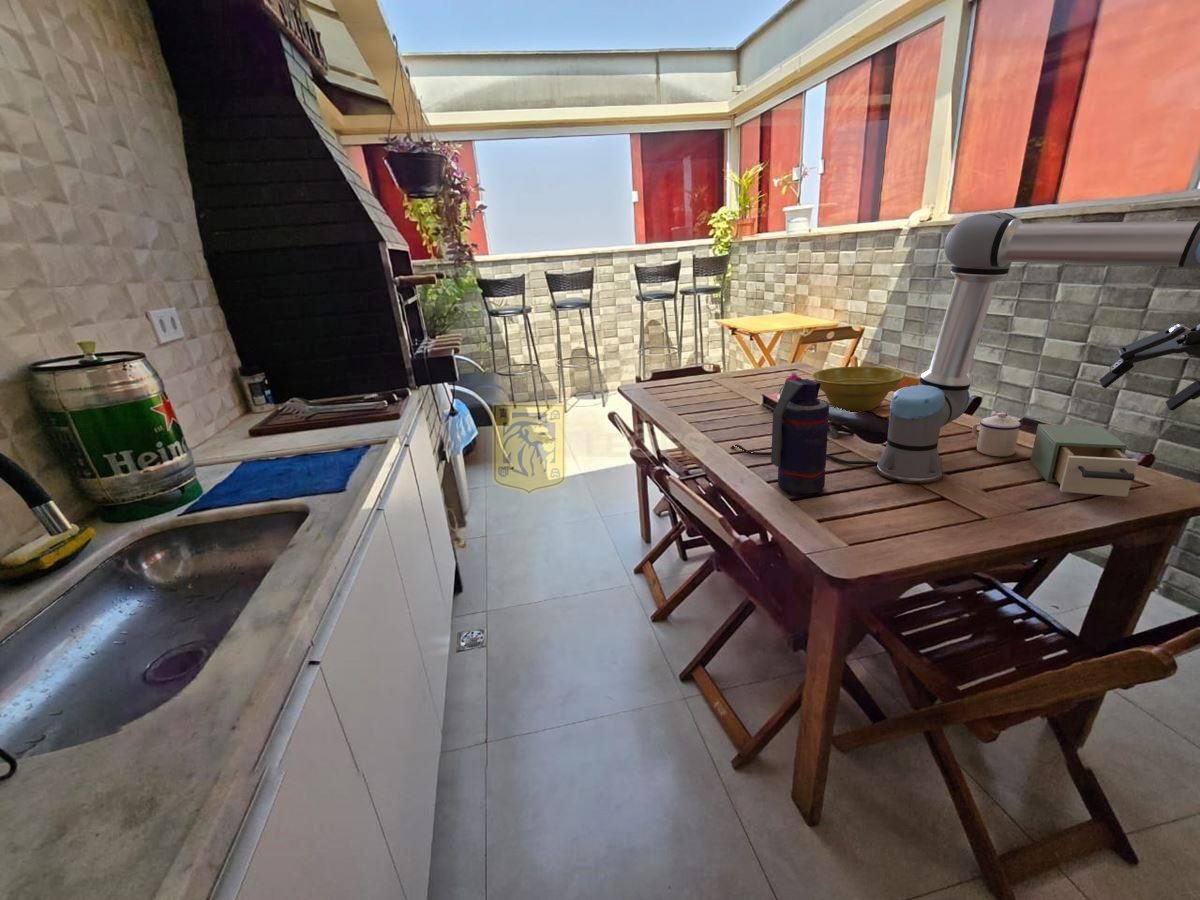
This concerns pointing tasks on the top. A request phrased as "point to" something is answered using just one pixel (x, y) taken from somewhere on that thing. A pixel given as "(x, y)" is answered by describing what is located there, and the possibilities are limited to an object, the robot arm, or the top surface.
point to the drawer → (1094, 470)
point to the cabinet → (1067, 443)
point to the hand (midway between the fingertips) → (1135, 395)
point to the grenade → (800, 437)
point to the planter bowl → (857, 386)
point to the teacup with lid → (997, 435)
